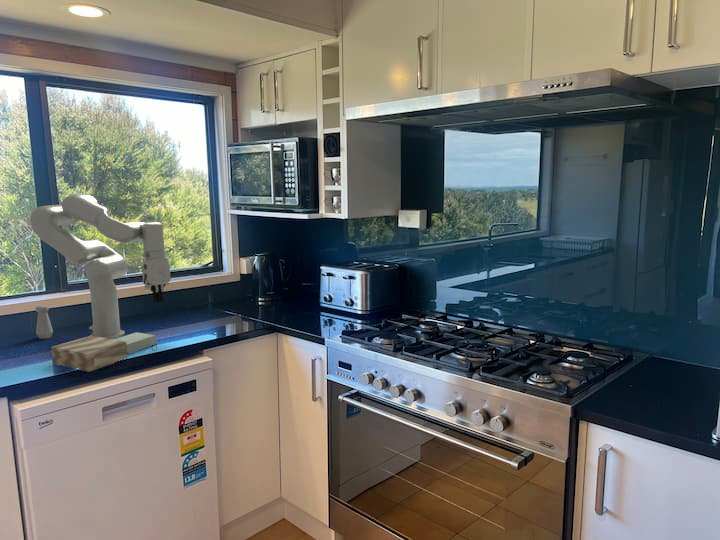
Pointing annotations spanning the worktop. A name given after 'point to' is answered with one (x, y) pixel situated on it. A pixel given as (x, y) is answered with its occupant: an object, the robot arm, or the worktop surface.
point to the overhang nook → (89, 353)
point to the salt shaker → (43, 323)
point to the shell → (137, 341)
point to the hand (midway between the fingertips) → (158, 301)
